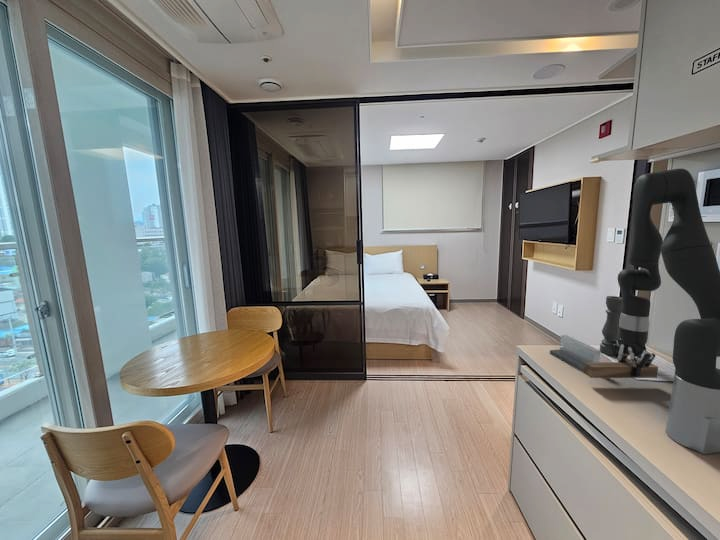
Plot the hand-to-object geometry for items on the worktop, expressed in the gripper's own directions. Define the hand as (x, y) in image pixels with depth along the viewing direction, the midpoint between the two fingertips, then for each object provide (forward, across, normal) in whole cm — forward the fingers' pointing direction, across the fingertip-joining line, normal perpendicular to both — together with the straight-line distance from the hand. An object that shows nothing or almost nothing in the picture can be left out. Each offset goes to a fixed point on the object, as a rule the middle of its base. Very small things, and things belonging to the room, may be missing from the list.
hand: (628, 373), depth 102 cm
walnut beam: (+1, 0, +3) cm, 3 cm away
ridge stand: (+4, +18, +3) cm, 18 cm away
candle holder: (+4, +23, -17) cm, 29 cm away
